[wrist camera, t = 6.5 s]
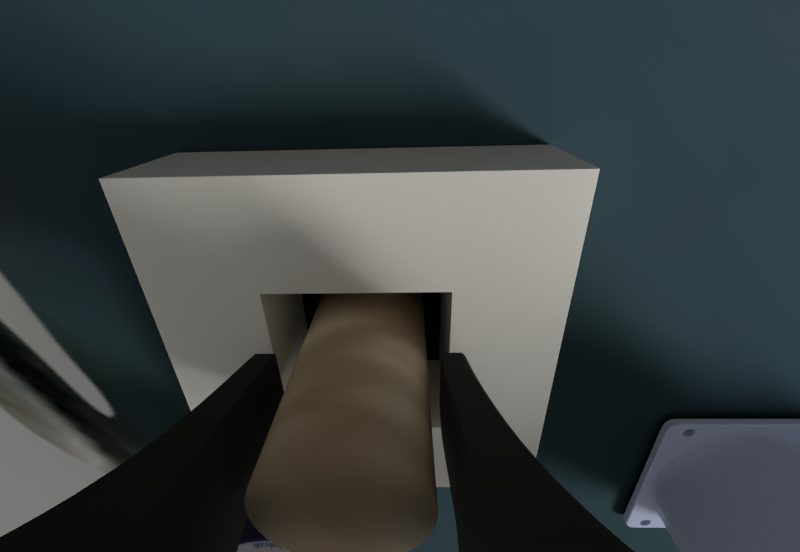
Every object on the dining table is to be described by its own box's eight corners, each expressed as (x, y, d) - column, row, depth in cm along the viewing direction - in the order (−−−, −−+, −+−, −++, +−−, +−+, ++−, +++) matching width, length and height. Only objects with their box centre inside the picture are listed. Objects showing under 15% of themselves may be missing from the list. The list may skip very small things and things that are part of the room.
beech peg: (425, 261, 14) (444, 452, 7) (420, 347, 16) (432, 566, 9) (317, 259, 14) (227, 446, 7) (325, 345, 16) (260, 561, 9)
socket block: (550, 144, 12) (600, 168, 9) (508, 414, 18) (529, 487, 14) (176, 152, 12) (98, 178, 9) (252, 415, 18) (220, 485, 15)
